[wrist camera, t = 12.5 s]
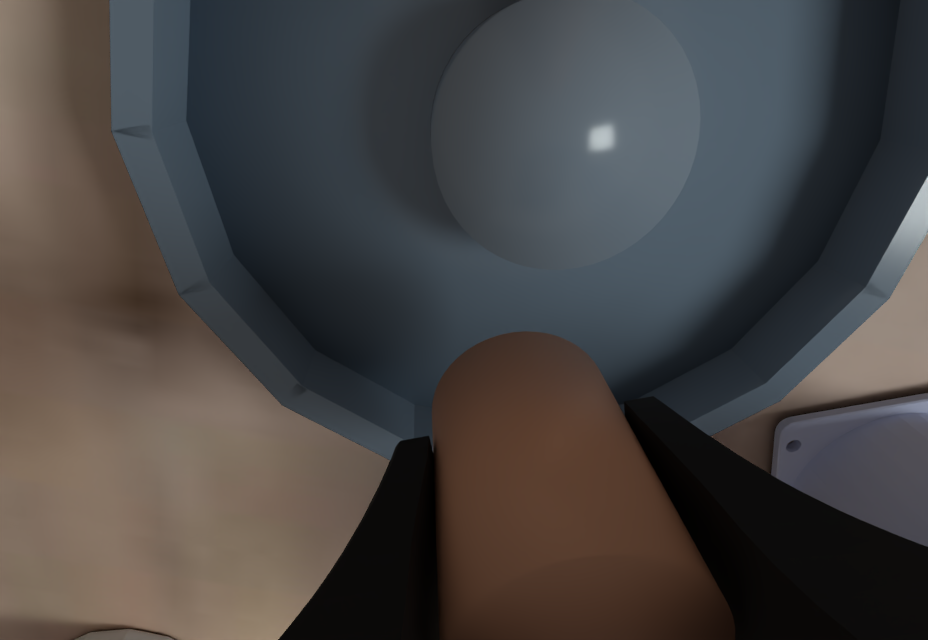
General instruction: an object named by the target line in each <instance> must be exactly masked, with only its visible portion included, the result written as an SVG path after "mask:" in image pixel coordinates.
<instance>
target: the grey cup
mask: <svg viewBox="0 0 928 640" xmlns="http://www.w3.org/2000/svg"><path fill="white" fill-rule="evenodd" d="M75 640H174V639H172V638H170V637H168V636H163V635H158V634H154V633H150V632H144V631H139V630H134V629H121V630H109V631H99V632H90V633H87V634H85V635H83V636H81V637H79V638H77V639H75Z"/></svg>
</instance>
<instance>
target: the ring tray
mask: <svg viewBox="0 0 928 640" xmlns="http://www.w3.org/2000/svg"><path fill="white" fill-rule="evenodd" d="M109 4H110V68H111V132H112V134H113V136H114V139H115V141H116V143H117V146H118V148H119V151H120V153H121V156H122V158H123V160H124V163H125V165H126V168H127V170H128V173H129V175H130V177H131V180H132V182H133V185H134V187H135V190H136V192H137V194H138V197H139V199H140V202H141V204H142V207H143V209H144V211H145V214H146V216H147V219H148V221H149V224H150V226H151V228H152V231H153V233H154V236H155V238H156V241H157V243H158V245H159V248H160V250H161V253H162V255H163V258H164V260H165V262H166V265H167V267H168V270H169V272H170V275H171V277H172V279H173V282H174V284H175V287H176V289H177V292H178V294H179V295H180V297H181V298H182V299H183V300H184V301H185V302H186V303H187V304H188V305H189V306H190V307H191V308H192V309H193V310H194V312H195V313H196V314H197V315H198V316H199V317H200V318H201V319H202V320H203V321H204V322H205V323H206V324H207V325H208V326H209V328H210V329H211V330H212V331H213V332H214V333H215V334H216V335H217V336H218V337H219V338H220V339H221V340H222V341H223V343H224V344H225V345H226V346H227V347H228V348H229V349H230V350H231V351H232V352H233V353H234V354H235V355H236V356H237V358H238V359H239V360H240V361H241V362H242V363H243V364H244V365H245V366H246V367H247V368H248V369H249V370H250V371H251V372H252V374H253V375H254V376H255V377H256V378H257V379H258V380H259V381H260V382H261V383H262V384H263V385H264V386H265V387H266V389H267V390H268V391H269V392H270V393H271V394H272V395H273V396H274V397H275V398H276V399H277V400H278V401H279V402H280V404H281V405H283V406H285V407H286V408H288V409H290V410H292V411H294V412H296V413H298V414H300V415H302V416H304V417H306V418H308V419H310V420H312V421H314V422H316V423H318V424H320V425H322V426H324V427H326V428H328V429H330V430H332V431H334V432H336V433H338V434H340V435H342V436H343V437H345V438H347V439H349V440H351V441H353V442H355V443H357V444H359V445H361V446H363V447H365V448H367V449H369V450H371V451H373V452H375V453H377V454H379V455H381V456H383V457H385V458H387V459H389V460H391V457H392V455H393V452H394V450H395V447H396V445H397V444H398V443H399V442H400V441H402V440H407V439H413V438H419V437H424V436H429V437H430V442H431V446H432V450H433V434H432V403H433V398H434V393H435V391H436V388H437V385H438V383H439V381H440V379H441V378H442V376H443V374H444V373H445V371H446V370H447V369H448V367H449V366H450V365H451V364H452V363H453V362H454V361H455V360H456V359H457V358H458V357H459V356H460V355H461V354H463V353H464V352H465V351H466V350H468V349H470V348H471V347H473V346H474V345H476V344H478V343H480V342H482V341H484V340H486V339H489V338H492V337H495V336H498V335H502V334H507V333H511V332H522V331H529V332H541V333H548V334H551V335H555V336H558V337H561V338H563V339H566V340H568V341H570V342H572V343H573V344H575V345H577V346H578V347H580V348H581V349H582V350H583V351H584V352H586V353H587V354H588V355H589V356H590V358H591V359H592V360H593V361H594V362H595V364H596V365H597V367H598V368H599V370H600V372H601V374H602V375H603V377H604V379H605V381H606V383H607V385H608V386H609V388H610V390H611V392H612V394H613V395H614V397H615V399H616V401H617V403H618V405H619V406H620V408H621V410H622V412H623V414H624V416H625V411H624V401H629V400H634V399H640V398H646V397H651V396H654V397H655V398H657V399H658V400H660V401H661V402H663V403H664V404H665V405H667V406H668V407H669V408H671V409H672V410H674V411H675V412H676V413H678V414H679V415H681V416H682V417H683V418H685V419H686V420H687V421H689V422H690V423H692V424H693V425H694V426H696V427H697V428H699V429H700V430H702V431H703V432H704V433H706V434H707V435H709V436H712V435H714V434H716V433H718V432H720V431H722V430H724V429H726V428H728V427H729V426H731V425H733V424H735V423H737V422H739V421H741V420H743V419H745V418H747V417H749V416H751V415H753V414H755V413H757V412H759V411H761V410H763V409H765V408H767V407H769V406H771V405H773V404H775V403H777V402H779V401H781V400H782V399H783V398H784V397H785V396H786V395H787V394H788V393H789V392H790V391H791V390H792V389H793V388H794V387H796V386H797V385H798V384H799V383H800V382H801V381H802V380H803V379H804V378H805V377H806V376H807V375H808V374H809V373H810V372H812V371H813V370H814V369H815V368H816V367H817V366H818V365H819V364H820V363H821V362H822V361H823V360H824V359H825V358H826V357H827V356H829V355H830V354H831V353H832V352H833V351H834V350H835V349H836V348H837V347H838V346H839V345H840V344H841V343H842V342H843V341H845V340H846V339H847V338H848V337H849V336H850V335H851V334H852V333H853V332H854V331H855V330H856V329H857V328H858V327H859V326H861V325H862V324H863V323H864V322H865V321H866V320H867V319H868V318H869V317H870V316H871V315H872V314H873V313H874V312H875V311H876V310H878V309H879V308H880V307H881V306H882V305H883V304H884V303H885V302H886V301H887V300H888V299H889V298H890V296H891V295H892V293H893V291H894V289H895V288H896V286H897V284H898V283H899V281H900V279H901V277H902V276H903V274H904V272H905V270H906V269H907V267H908V265H909V264H910V262H911V260H912V258H913V257H914V255H915V253H916V252H917V250H918V248H919V246H920V245H921V243H922V241H923V239H924V238H925V236H926V234H927V233H928V0H109Z"/></svg>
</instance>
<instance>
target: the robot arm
mask: <svg viewBox="0 0 928 640" xmlns="http://www.w3.org/2000/svg"><path fill="white" fill-rule="evenodd" d="M624 411H625V417H626V419H627V421H628V423H629V425H630V426H631V428H632V430H633V432H634V434H635V436H636V437H637V439H638V441H639V443H640V445H641V446H642V448H643V450H644V452H645V454H646V456H647V457H648V459H649V461H650V463H651V465H652V467H653V468H654V470H655V472H656V474H657V476H658V477H659V479H660V481H661V483H662V485H663V487H664V488H665V490H666V492H667V494H668V496H669V498H670V499H671V501H672V503H673V505H674V507H675V508H676V510H677V512H678V514H679V516H680V518H681V519H682V521H683V523H684V525H685V527H686V528H687V530H688V532H689V534H690V536H691V538H692V539H693V541H694V543H695V545H696V547H697V549H698V550H699V552H700V554H701V556H702V558H703V559H704V561H705V563H706V565H707V567H708V569H709V570H710V572H711V574H712V576H713V578H714V579H715V581H716V583H717V585H718V587H719V589H720V590H721V592H722V594H723V596H724V598H725V600H726V601H727V603H728V605H729V608H730V610H731V613H732V615H733V619H734V624H735V640H928V393H924V394H918V395H913V396H907V397H901V398H895V399H890V400H884V401H878V402H872V403H867V404H861V405H855V406H849V407H844V408H838V409H832V410H826V411H821V412H815V413H809V414H803V415H798V416H792V417H788V418H785V419H783V420H782V421H780V422H779V424H778V425H777V426H776V429H775V436H774V448H773V459H772V471H771V474H769V473H767V472H765V471H764V470H762V469H760V468H759V467H757V466H755V465H754V464H752V463H750V462H749V461H747V460H745V459H744V458H742V457H741V456H739V455H737V454H736V453H734V452H733V451H731V450H730V449H728V448H727V447H725V446H724V445H722V444H721V443H719V442H718V441H716V440H715V439H713V438H712V437H710V436H709V435H707V434H706V433H704V432H703V431H702V430H700V429H699V428H697V427H696V426H694V425H693V424H692V423H690V422H689V421H687V420H686V419H685V418H683V417H682V416H681V415H679V414H678V413H676V412H675V411H674V410H672V409H671V408H669V407H668V406H667V405H665V404H664V403H663V402H661V401H660V400H658V399H657V398H655V397H654V396H651V397H646V398H640V399H634V400H629V401H624ZM793 440H794V441H793ZM790 441H793V442H792V443H791V444H788V443H789V442H790ZM787 444H788V445H787ZM278 640H440V637H439V608H438V579H437V550H436V521H435V492H434V461H433V450H432V446H431V442H430V437H429V436H424V437H419V438H413V439H407V440H402V441H400V442H399V443H398V444H397V445H396V447H395V450H394V452H393V455H392V457H391V460H390V462H389V465H388V467H387V469H386V472H385V474H384V476H383V478H382V480H381V483H380V485H379V487H378V489H377V491H376V493H375V495H374V497H373V499H372V501H371V503H370V505H369V507H368V509H367V511H366V513H365V515H364V516H363V518H362V520H361V522H360V524H359V525H358V527H357V529H356V531H355V532H354V534H353V536H352V537H351V539H350V541H349V542H348V544H347V546H346V548H345V549H344V551H343V553H342V554H341V556H340V557H339V559H338V560H337V562H336V564H335V565H334V567H333V568H332V570H331V571H330V573H329V574H328V576H327V577H326V578H325V580H324V581H323V583H322V584H321V586H320V587H319V588H318V590H317V591H316V593H315V594H314V595H313V597H312V598H311V599H310V601H309V602H308V603H307V604H306V606H305V607H304V608H303V610H302V611H301V612H300V613H299V615H298V616H297V617H296V619H295V620H294V621H293V622H292V624H291V625H290V626H289V627H288V629H287V630H286V631H285V632H284V633H283V635H282V636H281V637H280V638H279V639H278Z"/></svg>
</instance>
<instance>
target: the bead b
mask: <svg viewBox="0 0 928 640" xmlns="http://www.w3.org/2000/svg"><path fill="white" fill-rule="evenodd" d="M432 434H433V461H434V492H435V521H436V550H437V579H438V608H439V637H440V640H735V624H734V619H733V615H732V613H731V610H730V608H729V605H728V603H727V601H726V600H725V598H724V596H723V594H722V592H721V590H720V589H719V587H718V585H717V583H716V581H715V579H714V578H713V576H712V574H711V572H710V570H709V569H708V567H707V565H706V563H705V561H704V559H703V558H702V556H701V554H700V552H699V550H698V549H697V547H696V545H695V543H694V541H693V539H692V538H691V536H690V534H689V532H688V530H687V528H686V527H685V525H684V523H683V521H682V519H681V518H680V516H679V514H678V512H677V510H676V508H675V507H674V505H673V503H672V501H671V499H670V498H669V496H668V494H667V492H666V490H665V488H664V487H663V485H662V483H661V481H660V479H659V477H658V476H657V474H656V472H655V470H654V468H653V467H652V465H651V463H650V461H649V459H648V457H647V456H646V454H645V452H644V450H643V448H642V446H641V445H640V443H639V441H638V439H637V437H636V436H635V434H634V432H633V430H632V428H631V426H630V425H629V423H628V421H627V419H626V417H625V416H624V414H623V412H622V410H621V408H620V406H619V405H618V403H617V401H616V399H615V397H614V395H613V394H612V392H611V390H610V388H609V386H608V385H607V383H606V381H605V379H604V377H603V375H602V374H601V372H600V370H599V368H598V367H597V365H596V364H595V362H594V361H593V360H592V359H591V358H590V356H589V355H588V354H587V353H586V352H584V351H583V350H582V349H581V348H580V347H578V346H577V345H575V344H573V343H572V342H570V341H568V340H566V339H563V338H561V337H558V336H555V335H551V334H548V333H541V332H529V331H522V332H511V333H507V334H502V335H498V336H495V337H492V338H489V339H486V340H484V341H482V342H480V343H478V344H476V345H474V346H473V347H471V348H470V349H468V350H466V351H465V352H464V353H463V354H461V355H460V356H459V357H458V358H457V359H456V360H455V361H454V362H453V363H452V364H451V365H450V366H449V367H448V369H447V370H446V371H445V373H444V374H443V376H442V378H441V379H440V381H439V383H438V385H437V388H436V391H435V393H434V398H433V403H432Z"/></svg>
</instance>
